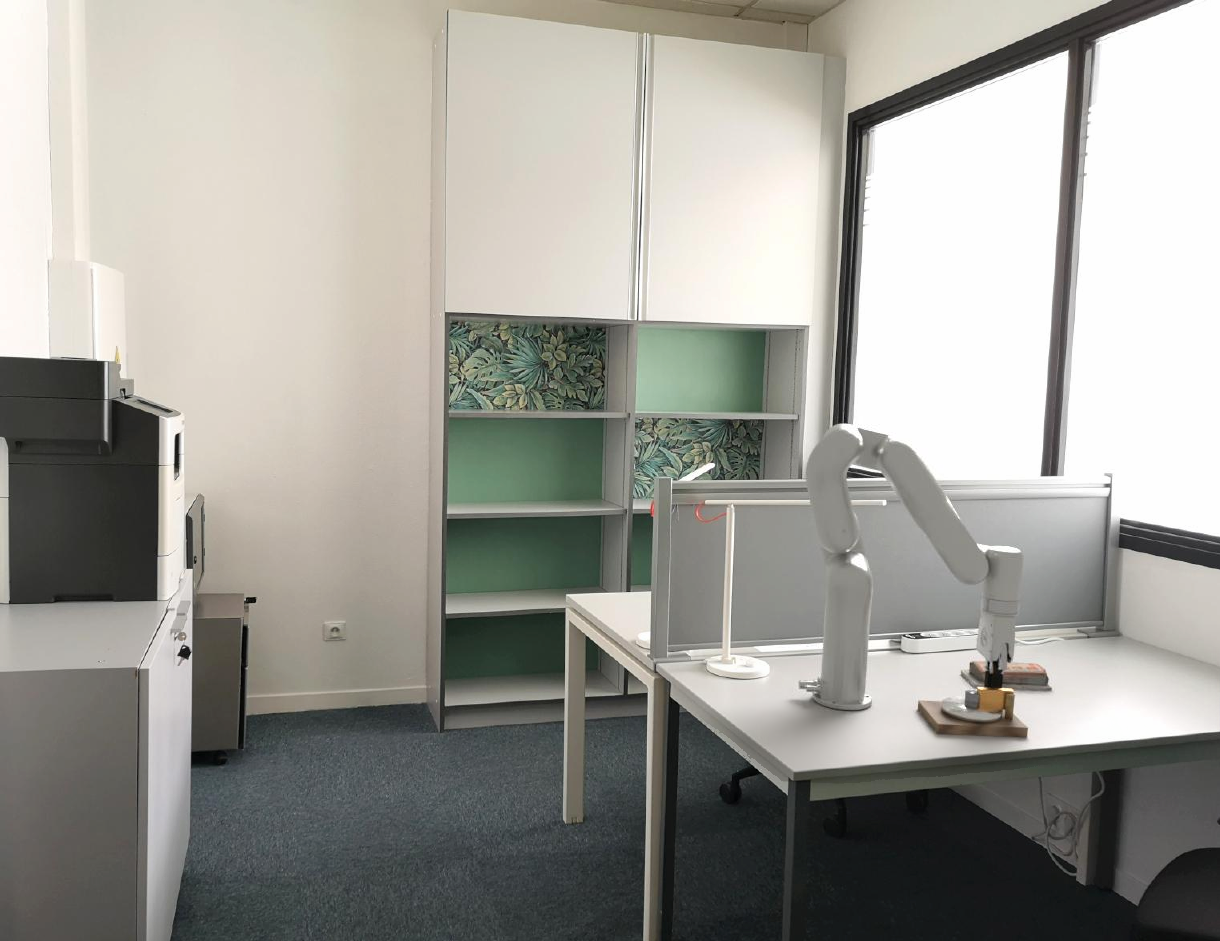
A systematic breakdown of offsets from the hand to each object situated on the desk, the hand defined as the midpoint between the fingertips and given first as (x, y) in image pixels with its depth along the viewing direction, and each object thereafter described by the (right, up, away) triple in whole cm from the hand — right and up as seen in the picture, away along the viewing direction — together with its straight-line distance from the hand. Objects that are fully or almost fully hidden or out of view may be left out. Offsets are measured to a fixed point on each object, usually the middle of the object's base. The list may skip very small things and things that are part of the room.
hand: (992, 689), depth 220 cm
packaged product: (+12, -4, +24) cm, 27 cm away
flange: (-5, -4, -5) cm, 8 cm away
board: (-6, -6, -4) cm, 10 cm away
